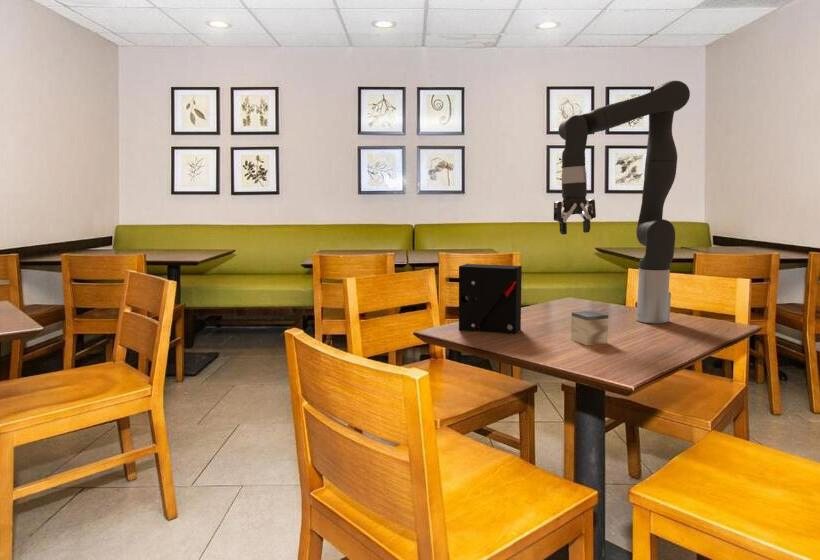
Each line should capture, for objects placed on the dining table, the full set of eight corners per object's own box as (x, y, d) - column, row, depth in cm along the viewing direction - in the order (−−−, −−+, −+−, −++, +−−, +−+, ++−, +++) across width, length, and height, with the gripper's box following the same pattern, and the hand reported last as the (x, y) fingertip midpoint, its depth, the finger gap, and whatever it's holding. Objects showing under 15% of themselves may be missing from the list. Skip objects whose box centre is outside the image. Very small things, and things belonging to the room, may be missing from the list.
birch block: (608, 315, 153) (607, 343, 154) (592, 310, 159) (591, 337, 160) (587, 316, 150) (586, 345, 151) (571, 312, 157) (571, 339, 158)
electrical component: (522, 328, 172) (523, 265, 170) (514, 336, 163) (515, 268, 160) (468, 324, 180) (469, 263, 177) (458, 330, 170) (458, 266, 168)
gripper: (562, 182, 168) (563, 235, 170) (600, 180, 172) (601, 232, 175) (547, 183, 175) (549, 234, 177) (585, 181, 179) (586, 231, 182)
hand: (575, 233), depth 176 cm, fingers open, 8 cm apart
